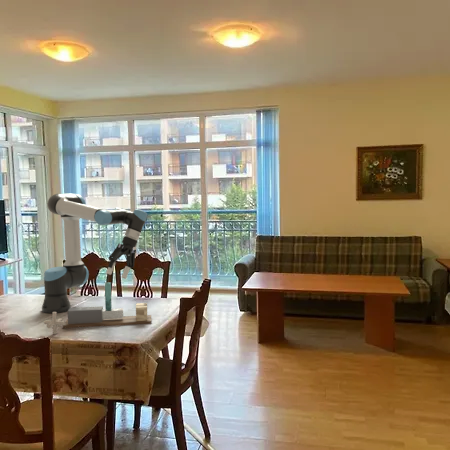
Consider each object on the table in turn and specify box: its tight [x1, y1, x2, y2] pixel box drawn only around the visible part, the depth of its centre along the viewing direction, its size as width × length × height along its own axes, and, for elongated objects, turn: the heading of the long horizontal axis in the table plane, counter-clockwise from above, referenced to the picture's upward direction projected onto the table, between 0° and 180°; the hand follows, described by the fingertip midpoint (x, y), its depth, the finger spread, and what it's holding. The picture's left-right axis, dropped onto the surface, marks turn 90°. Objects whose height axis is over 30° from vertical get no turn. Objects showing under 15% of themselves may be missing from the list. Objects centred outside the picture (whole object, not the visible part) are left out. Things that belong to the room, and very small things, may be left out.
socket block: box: [135, 302, 148, 321], centre depth 230 cm, size 9×6×7 cm, turn 10°
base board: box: [62, 314, 152, 329], centre depth 228 cm, size 12×42×1 cm, turn 100°
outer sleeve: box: [67, 306, 104, 324], centre depth 225 cm, size 6×16×6 cm, turn 100°
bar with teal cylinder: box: [102, 282, 124, 319], centre depth 226 cm, size 4×24×18 cm, turn 100°
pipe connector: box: [43, 312, 66, 335], centre depth 210 cm, size 10×10×10 cm
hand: (116, 276), depth 237 cm, fingers open, 13 cm apart
